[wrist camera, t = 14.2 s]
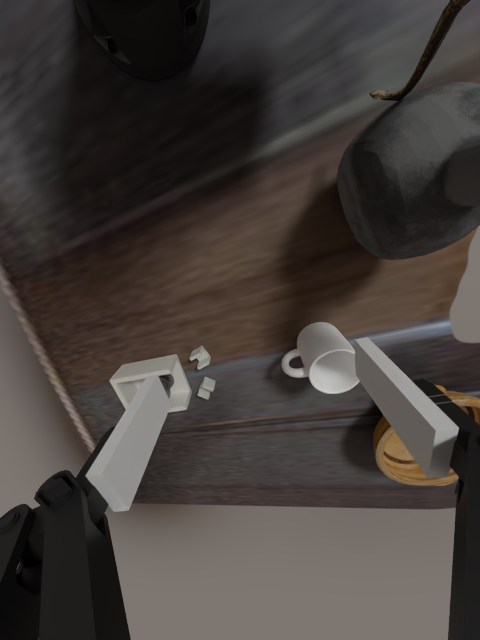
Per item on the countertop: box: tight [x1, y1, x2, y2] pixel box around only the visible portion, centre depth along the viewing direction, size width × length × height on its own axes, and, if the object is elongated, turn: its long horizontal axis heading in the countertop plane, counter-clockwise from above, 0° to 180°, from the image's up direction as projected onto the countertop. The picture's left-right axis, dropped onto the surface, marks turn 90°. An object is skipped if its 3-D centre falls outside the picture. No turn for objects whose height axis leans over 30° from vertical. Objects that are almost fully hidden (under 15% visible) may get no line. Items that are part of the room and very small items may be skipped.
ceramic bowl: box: [373, 385, 480, 486], centre depth 48 cm, size 30×24×8 cm
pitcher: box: [337, 0, 480, 260], centre depth 20 cm, size 11×19×30 cm, turn 28°
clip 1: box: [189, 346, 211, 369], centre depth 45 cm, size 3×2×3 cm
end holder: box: [109, 354, 192, 413], centre depth 46 cm, size 10×12×5 cm
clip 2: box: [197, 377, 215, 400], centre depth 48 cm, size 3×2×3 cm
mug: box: [281, 322, 360, 394], centre depth 40 cm, size 12×8×10 cm
